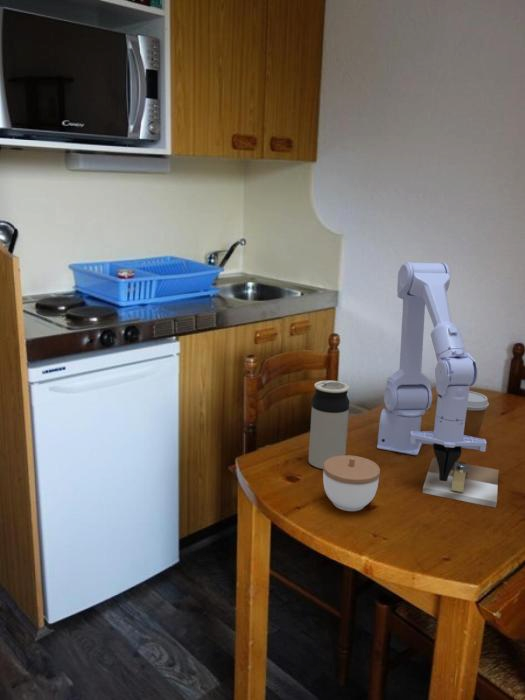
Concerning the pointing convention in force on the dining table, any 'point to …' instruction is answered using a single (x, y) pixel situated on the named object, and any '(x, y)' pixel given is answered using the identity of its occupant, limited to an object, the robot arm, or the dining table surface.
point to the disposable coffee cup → (475, 413)
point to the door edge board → (465, 485)
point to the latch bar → (459, 476)
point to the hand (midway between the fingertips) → (442, 478)
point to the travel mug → (328, 422)
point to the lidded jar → (350, 481)
